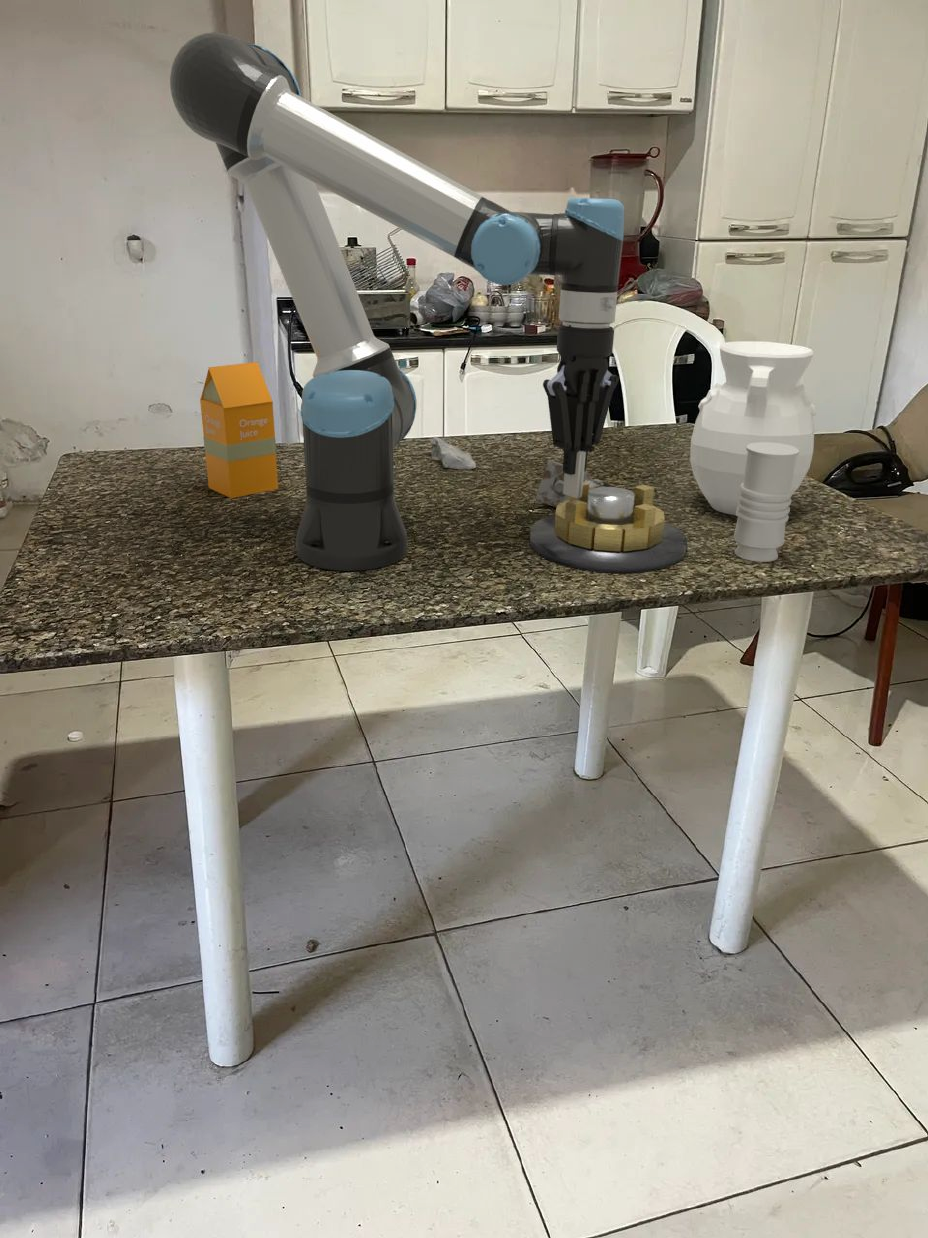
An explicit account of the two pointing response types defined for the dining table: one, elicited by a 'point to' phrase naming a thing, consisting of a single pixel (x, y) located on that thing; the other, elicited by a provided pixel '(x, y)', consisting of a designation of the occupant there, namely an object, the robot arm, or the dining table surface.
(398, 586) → the dining table surface
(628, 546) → the ring nut
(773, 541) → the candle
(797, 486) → the pitcher
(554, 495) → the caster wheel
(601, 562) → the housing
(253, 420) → the orange juice
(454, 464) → the mineral specimen
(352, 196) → the robot arm
